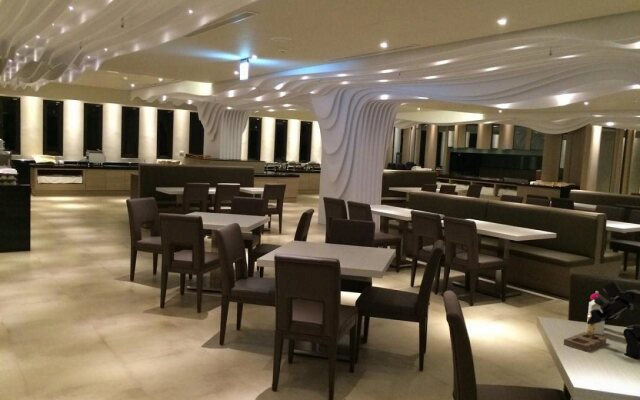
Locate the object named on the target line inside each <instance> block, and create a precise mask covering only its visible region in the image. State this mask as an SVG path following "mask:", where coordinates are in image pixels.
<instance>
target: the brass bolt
mask: <svg viewBox="0 0 640 400" xmlns="http://www.w3.org/2000/svg"><path fill="white" fill-rule="evenodd" d="M591 316H592V315H591V314H588V313H587V316H586V319H587V318H588V320H589V319H590V318H591ZM596 324H597V323H594V324H587V323H586V338H589V339H592V340H595V335H596V334H595V333H596Z"/></svg>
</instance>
